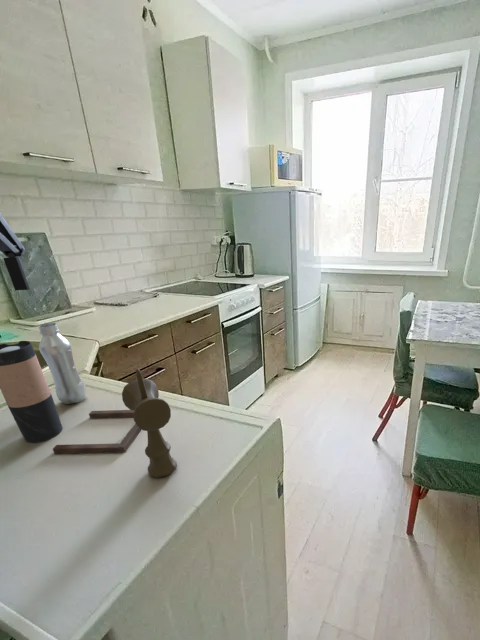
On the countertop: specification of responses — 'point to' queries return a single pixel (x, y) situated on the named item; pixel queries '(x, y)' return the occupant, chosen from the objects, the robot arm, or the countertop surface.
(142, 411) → the kendama
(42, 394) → the travel mug
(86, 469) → the countertop surface
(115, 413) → the frame
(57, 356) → the plastic bottle
